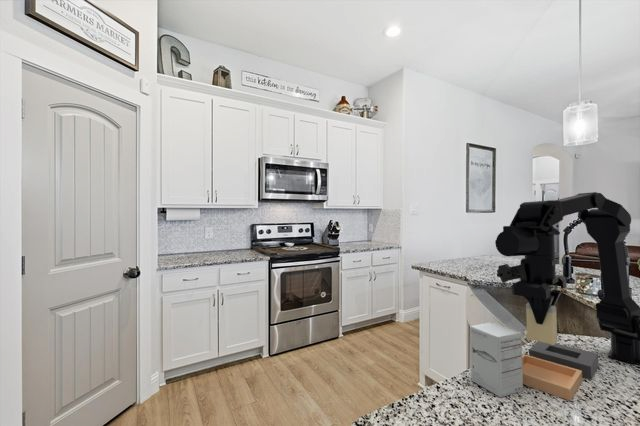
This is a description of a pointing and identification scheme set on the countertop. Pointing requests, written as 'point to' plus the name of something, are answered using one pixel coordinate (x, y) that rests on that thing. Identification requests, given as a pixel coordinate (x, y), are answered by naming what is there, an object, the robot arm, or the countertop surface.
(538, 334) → the block
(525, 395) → the countertop surface
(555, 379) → the parts tray
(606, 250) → the robot arm
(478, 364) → the supplement box
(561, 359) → the gray rectangular frame
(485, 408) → the countertop surface
